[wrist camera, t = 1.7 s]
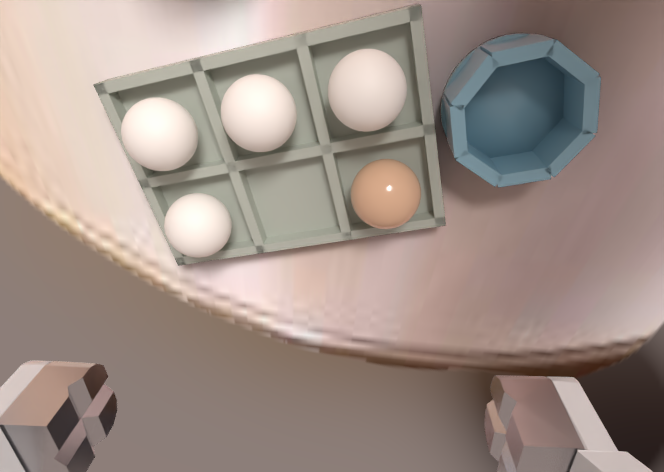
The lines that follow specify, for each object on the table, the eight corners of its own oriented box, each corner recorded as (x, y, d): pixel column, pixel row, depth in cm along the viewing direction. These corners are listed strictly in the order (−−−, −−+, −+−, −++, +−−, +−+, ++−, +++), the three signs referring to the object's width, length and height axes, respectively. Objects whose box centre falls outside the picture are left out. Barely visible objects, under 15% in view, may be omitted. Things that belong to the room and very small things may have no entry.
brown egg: (413, 143, 29) (419, 168, 25) (421, 204, 32) (428, 236, 28) (346, 155, 30) (341, 182, 26) (358, 214, 32) (356, 246, 28)
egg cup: (580, 17, 26) (608, 23, 22) (574, 154, 29) (597, 174, 26) (433, 50, 27) (441, 59, 24) (446, 175, 31) (454, 197, 28)
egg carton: (418, 3, 26) (427, 8, 21) (442, 213, 33) (453, 251, 28) (108, 79, 30) (59, 97, 25) (186, 253, 36) (159, 292, 32)
